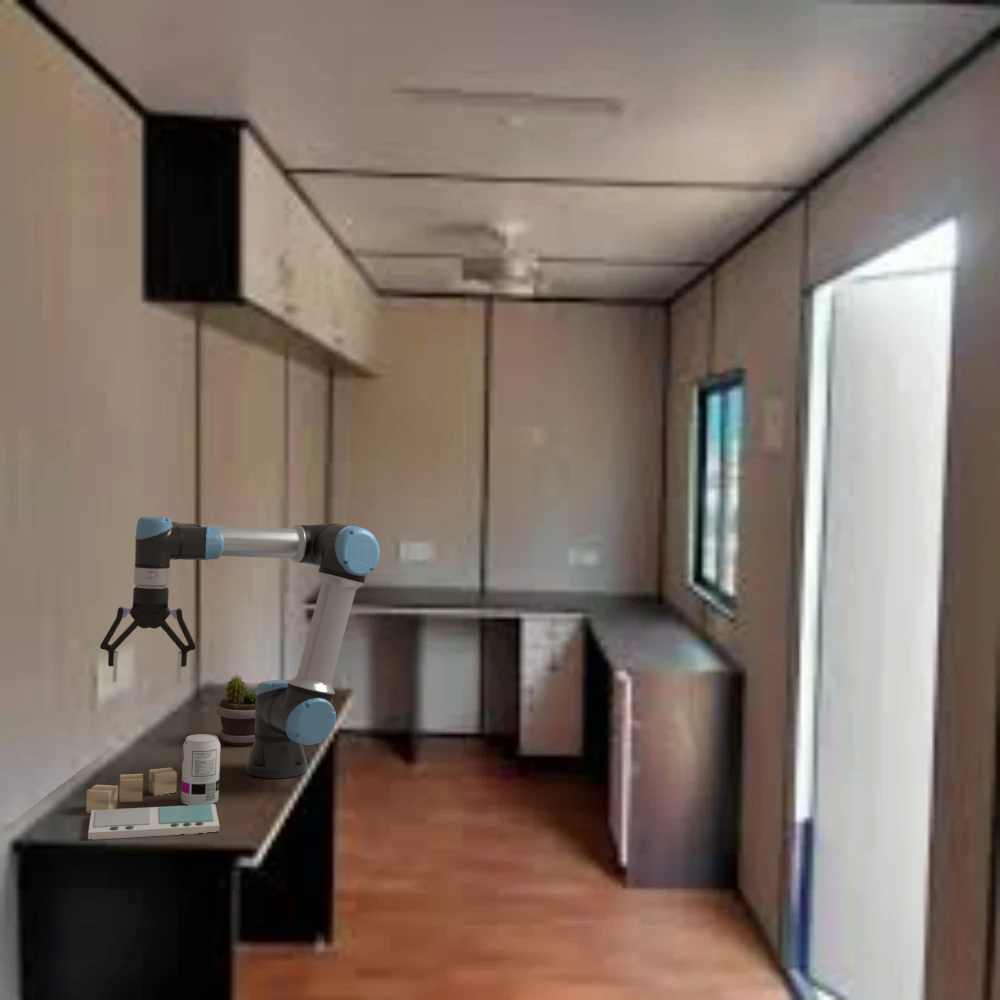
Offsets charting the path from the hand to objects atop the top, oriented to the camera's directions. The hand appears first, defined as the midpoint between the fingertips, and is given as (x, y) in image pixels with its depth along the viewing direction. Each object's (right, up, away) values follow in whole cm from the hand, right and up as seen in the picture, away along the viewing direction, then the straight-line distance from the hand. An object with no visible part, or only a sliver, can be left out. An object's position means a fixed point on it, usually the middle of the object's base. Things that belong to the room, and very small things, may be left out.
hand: (146, 681), depth 250 cm
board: (+5, -29, -11) cm, 31 cm away
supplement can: (+10, -29, +6) cm, 31 cm away
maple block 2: (-6, -28, +7) cm, 30 cm away
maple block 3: (0, -28, +13) cm, 31 cm away
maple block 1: (-9, -28, -3) cm, 30 cm away
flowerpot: (+7, -27, +61) cm, 68 cm away
